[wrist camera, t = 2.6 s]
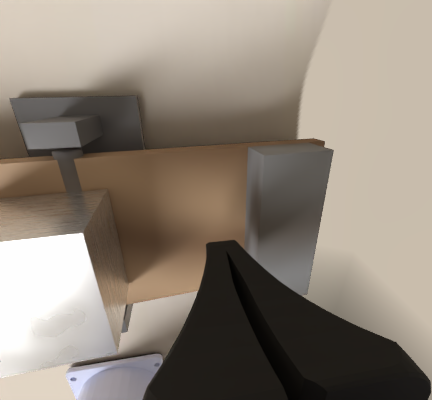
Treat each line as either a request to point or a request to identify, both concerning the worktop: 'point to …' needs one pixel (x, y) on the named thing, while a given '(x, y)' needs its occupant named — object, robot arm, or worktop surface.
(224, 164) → the beam
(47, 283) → the steel block
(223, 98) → the worktop surface
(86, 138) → the stand
